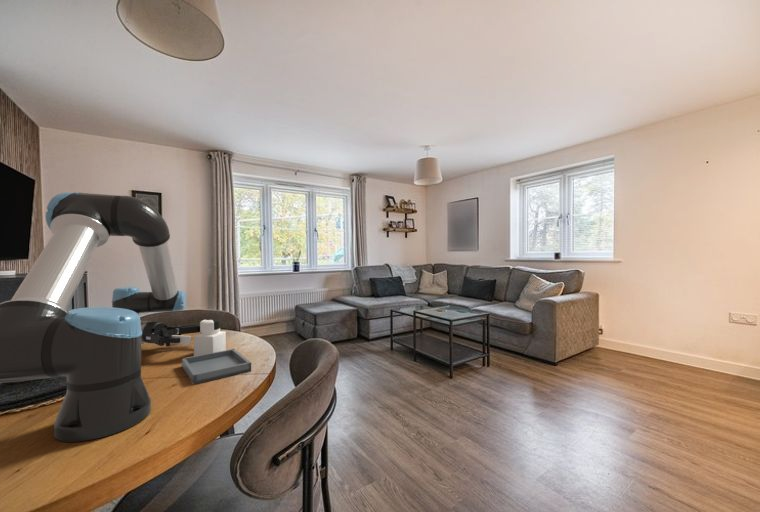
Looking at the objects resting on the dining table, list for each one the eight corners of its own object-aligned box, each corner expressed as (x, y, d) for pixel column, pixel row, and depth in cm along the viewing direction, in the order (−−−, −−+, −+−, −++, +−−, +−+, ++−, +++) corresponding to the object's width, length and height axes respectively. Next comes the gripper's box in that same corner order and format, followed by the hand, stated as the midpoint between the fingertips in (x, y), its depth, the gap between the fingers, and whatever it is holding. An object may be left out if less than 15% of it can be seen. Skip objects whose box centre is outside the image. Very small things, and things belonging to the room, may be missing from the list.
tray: (251, 371, 93) (251, 362, 93) (193, 384, 83) (193, 375, 83) (233, 356, 106) (233, 348, 106) (181, 366, 96) (181, 358, 96)
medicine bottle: (207, 350, 112) (207, 316, 112) (226, 351, 111) (226, 317, 111) (193, 356, 105) (193, 321, 105) (212, 358, 104) (212, 322, 104)
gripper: (176, 333, 124) (226, 336, 121) (116, 353, 99) (176, 357, 97) (176, 314, 124) (226, 316, 121) (116, 330, 99) (176, 333, 97)
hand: (204, 334), depth 109 cm, fingers open, 13 cm apart
